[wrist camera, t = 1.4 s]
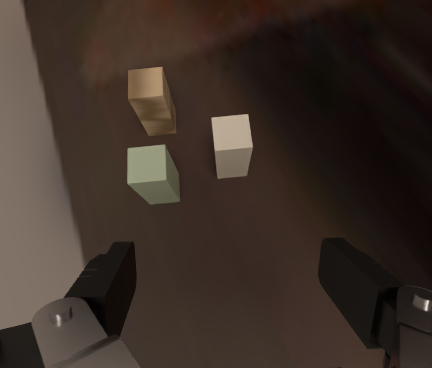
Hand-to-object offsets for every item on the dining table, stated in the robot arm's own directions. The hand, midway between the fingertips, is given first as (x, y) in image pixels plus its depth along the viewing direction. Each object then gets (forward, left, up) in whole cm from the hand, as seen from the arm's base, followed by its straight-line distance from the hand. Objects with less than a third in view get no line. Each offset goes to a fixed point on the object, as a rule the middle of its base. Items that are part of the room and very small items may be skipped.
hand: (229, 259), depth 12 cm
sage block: (-4, -14, -28) cm, 32 cm away
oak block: (-13, -22, -28) cm, 38 cm away
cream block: (-13, -8, -28) cm, 32 cm away
